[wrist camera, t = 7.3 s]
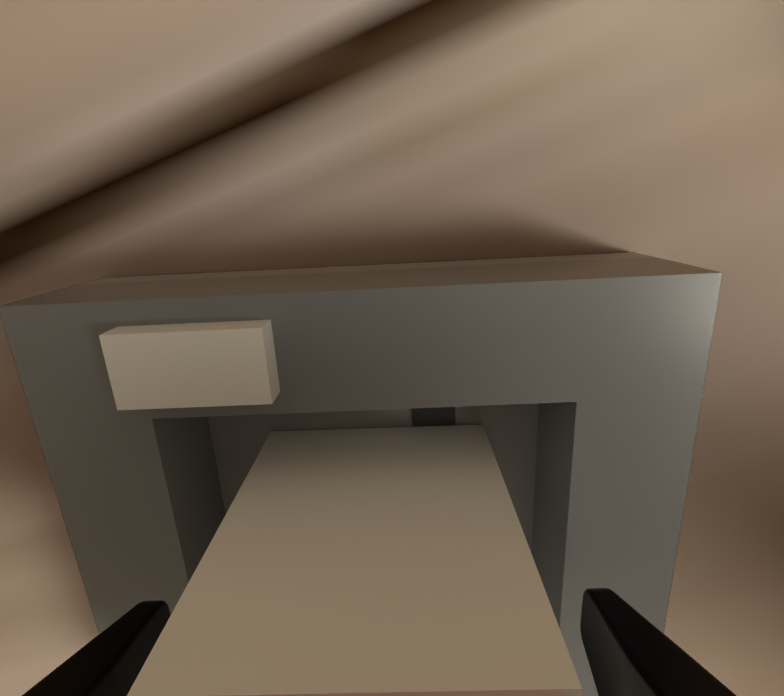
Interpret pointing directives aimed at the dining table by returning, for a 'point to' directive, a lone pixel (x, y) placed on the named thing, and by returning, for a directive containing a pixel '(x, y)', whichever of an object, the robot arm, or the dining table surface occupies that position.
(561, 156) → the dining table surface
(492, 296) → the socket plate
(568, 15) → the dining table surface
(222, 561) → the plug
